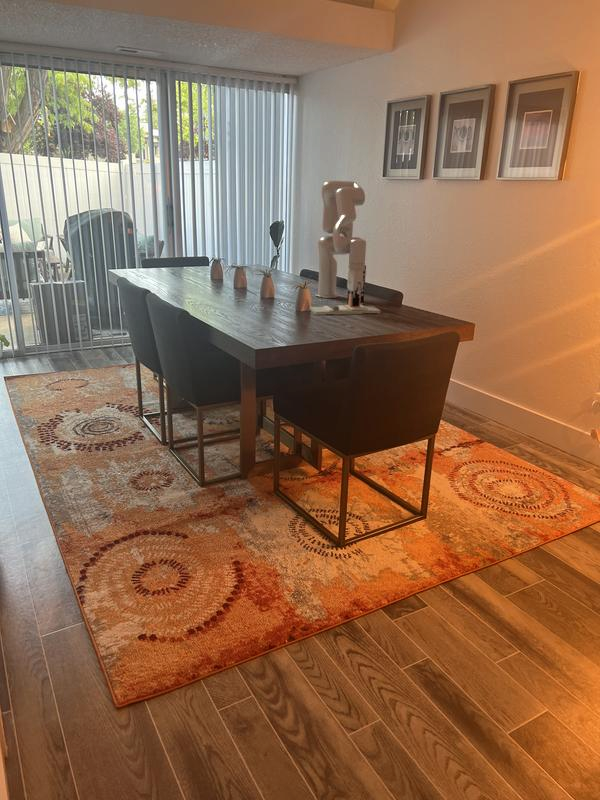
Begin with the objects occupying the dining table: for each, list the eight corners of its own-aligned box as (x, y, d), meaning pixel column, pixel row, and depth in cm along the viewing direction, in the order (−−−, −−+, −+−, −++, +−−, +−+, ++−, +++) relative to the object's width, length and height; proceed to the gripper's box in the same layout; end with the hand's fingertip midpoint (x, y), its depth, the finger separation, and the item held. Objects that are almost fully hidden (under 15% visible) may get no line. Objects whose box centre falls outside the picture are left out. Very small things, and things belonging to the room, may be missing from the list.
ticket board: (309, 310, 289) (309, 302, 288) (371, 308, 297) (372, 301, 296) (316, 315, 278) (316, 307, 277) (380, 313, 286) (381, 305, 285)
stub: (345, 305, 292) (345, 292, 290) (360, 305, 294) (361, 292, 292) (351, 310, 283) (352, 296, 281) (367, 309, 285) (368, 295, 283)
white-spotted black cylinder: (347, 307, 299) (349, 266, 292) (346, 303, 307) (348, 264, 300) (364, 307, 299) (366, 266, 292) (362, 304, 307) (365, 264, 300)
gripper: (343, 264, 288) (341, 302, 294) (354, 268, 273) (352, 308, 279) (358, 264, 290) (356, 302, 296) (370, 268, 275) (367, 308, 281)
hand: (354, 304), depth 288 cm, fingers closed on stub, 3 cm apart
